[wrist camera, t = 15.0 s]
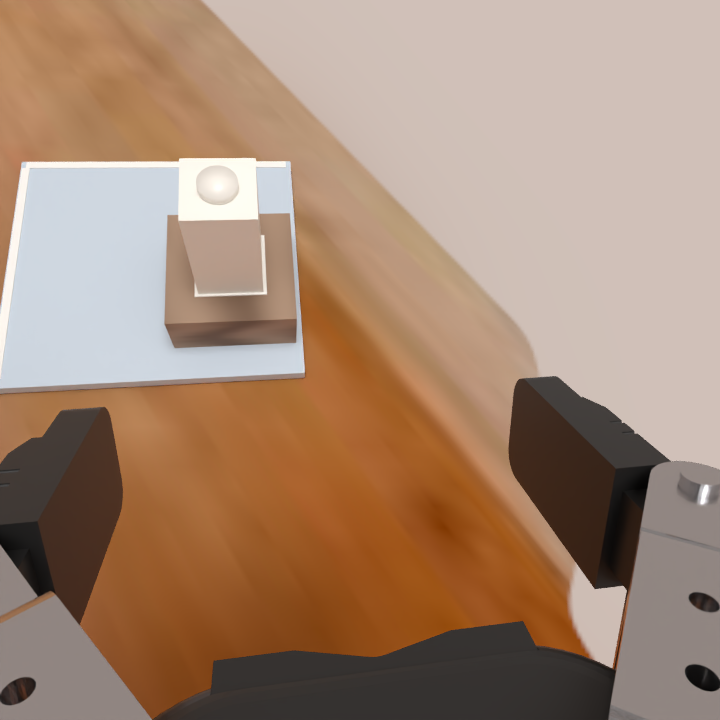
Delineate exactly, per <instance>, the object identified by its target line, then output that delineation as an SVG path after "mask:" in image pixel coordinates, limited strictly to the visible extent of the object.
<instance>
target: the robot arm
mask: <svg viewBox="0 0 720 720" xmlns="http://www.w3.org/2000/svg"><path fill="white" fill-rule="evenodd" d="M509 460H510V465H511V469H512V472H513V474H514V476H515V478H516V479H517V481H518V482H519V483H520V485H521V486H522V488H523V489H524V490H525V492H526V493H527V495H528V496H529V497H530V499H531V500H532V502H533V503H534V504H535V506H536V507H537V509H538V510H539V511H540V513H541V514H542V516H543V517H544V518H545V520H546V521H547V523H548V524H549V525H550V527H551V528H552V530H553V531H554V532H555V534H556V535H557V537H558V538H559V539H560V541H561V542H562V544H563V545H564V546H565V548H566V549H567V551H568V552H569V553H570V555H571V556H572V558H573V559H574V560H575V562H576V563H577V565H578V566H579V567H580V569H581V570H582V572H583V573H584V574H585V576H586V577H587V579H588V580H589V581H590V583H591V584H592V586H593V587H594V588H595V589H599V588H608V587H616V586H624V587H625V588H626V590H627V593H626V598H625V603H624V609H623V614H622V620H621V625H620V631H619V636H618V641H617V647H616V652H615V658H614V663H613V668H610V667H608V666H605V665H604V664H601V663H600V662H597V661H595V660H592V659H589V658H587V657H584V656H582V655H578V654H575V653H571V652H568V651H565V650H560V649H555V648H550V647H545V646H536V645H535V643H534V641H533V640H532V638H531V636H530V634H529V632H528V630H527V628H526V626H525V624H524V622H523V621H520V622H513V623H505V624H497V625H489V626H481V627H474V628H466V629H458V630H451V631H448V632H445V633H443V634H440V635H437V636H435V637H432V638H429V639H427V640H424V641H421V642H419V643H416V644H413V645H411V646H408V647H405V648H402V649H400V650H397V651H394V652H392V653H389V654H386V655H383V656H379V657H362V656H351V655H339V654H328V653H316V652H305V651H286V652H279V653H271V654H263V655H255V656H247V657H240V658H232V659H224V660H216V661H214V663H213V674H212V685H211V689H208V690H206V691H203V692H200V693H198V694H196V695H194V696H192V697H190V698H188V699H185V700H183V701H181V702H179V703H178V704H176V705H174V706H173V707H171V708H169V709H168V710H166V711H165V712H163V713H161V714H160V715H158V716H157V717H155V718H154V719H153V720H720V470H719V469H716V468H713V467H710V466H707V465H702V464H699V463H693V462H685V461H674V462H673V461H672V462H671V461H670V460H669V459H667V458H666V457H665V456H664V455H663V454H661V453H660V452H659V451H658V450H656V449H655V448H654V447H653V446H652V445H651V444H649V443H648V442H647V441H646V440H644V439H643V438H642V437H641V436H640V435H638V434H634V430H632V429H631V428H630V427H629V426H628V425H626V424H625V423H622V422H621V420H620V419H619V418H618V417H617V416H616V415H614V414H613V413H612V412H611V411H610V410H608V409H607V408H606V407H604V406H601V405H599V404H597V403H595V402H593V401H590V400H588V399H586V398H584V397H580V396H579V395H578V394H577V393H576V392H575V391H573V390H572V389H571V388H570V387H568V386H567V385H566V384H565V383H564V382H563V381H562V380H561V379H559V378H558V377H556V376H552V377H538V378H523V379H519V380H518V381H517V383H516V385H515V389H514V396H513V406H512V417H511V427H510V438H509ZM122 498H123V488H122V478H121V473H120V467H119V462H118V456H117V450H116V445H115V439H114V434H113V428H112V423H111V418H110V415H109V412H108V410H107V409H106V408H105V407H99V408H85V409H71V410H62V411H61V412H60V413H59V414H58V415H57V417H56V418H55V420H54V421H53V423H52V424H51V425H50V427H49V428H48V430H47V431H46V433H45V434H44V435H43V437H40V438H31V439H30V440H28V441H27V442H25V443H24V444H22V445H21V446H19V447H17V448H16V449H14V450H13V451H11V452H10V453H8V455H7V456H6V457H5V458H4V460H3V461H2V462H1V464H0V720H152V719H151V718H150V716H149V715H148V714H147V713H146V711H145V710H144V709H143V707H142V706H141V705H140V703H139V702H138V701H137V700H136V698H135V697H134V696H133V694H132V693H131V692H130V690H129V689H128V688H127V687H126V685H125V684H124V683H123V681H122V680H121V679H120V677H119V676H118V675H117V674H116V672H115V671H114V670H113V668H112V667H111V666H110V664H109V663H108V662H107V661H106V659H105V658H104V657H103V655H102V654H101V653H100V651H99V650H98V649H97V647H96V646H95V645H94V644H93V642H92V641H91V640H90V638H89V637H88V636H87V634H86V633H85V632H84V631H83V629H82V628H81V627H80V622H81V620H82V617H83V614H84V611H85V609H86V606H87V603H88V600H89V598H90V595H91V592H92V589H93V587H94V584H95V581H96V578H97V576H98V573H99V570H100V567H101V565H102V562H103V559H104V556H105V554H106V551H107V548H108V545H109V543H110V540H111V537H112V534H113V532H114V529H115V526H116V523H117V521H118V518H119V515H120V512H121V507H122Z"/></svg>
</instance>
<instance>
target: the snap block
mask: <svg viewBox="0 0 720 720" xmlns="http://www.w3.org/2000/svg"><path fill="white" fill-rule="evenodd" d="M178 222H179V225H180V229H181V233H182V236H183V240H184V244H185V247H186V251H187V255H188V258H189V262H190V266H191V269H192V273H193V277H194V280H195V284H196V287H197V291H198V294H226V293H255V292H264V291H263V270H262V249H261V231H260V217H259V202H258V188H257V173H256V159H255V158H179V205H178Z"/></svg>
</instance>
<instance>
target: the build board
mask: <svg viewBox="0 0 720 720" xmlns="http://www.w3.org/2000/svg"><path fill="white" fill-rule="evenodd" d="M256 173H257V188H258V202H259V217H260V231H261V249H262V270H263V291H264V292H255V293H226V294H198V291H197V287H196V284H195V280H194V277H193V273H192V269H191V266H190V262H189V258H188V255H187V251H186V247H185V244H184V240H183V236H182V233H181V229H180V225H179V222H178V205H179V162H22V165H21V172H20V179H19V186H18V192H17V199H16V206H15V213H14V220H13V226H12V233H11V240H10V247H9V254H8V260H7V267H6V274H5V281H4V288H3V294H2V301H1V308H0V394H4V393H23V392H42V391H61V390H80V389H99V388H118V387H137V386H156V385H175V384H194V383H213V382H232V381H251V380H270V379H289V378H305V367H304V353H303V339H302V324H301V310H300V296H299V281H298V267H297V253H296V238H295V224H294V210H293V195H292V181H291V167H290V161H259V162H256Z"/></svg>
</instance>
